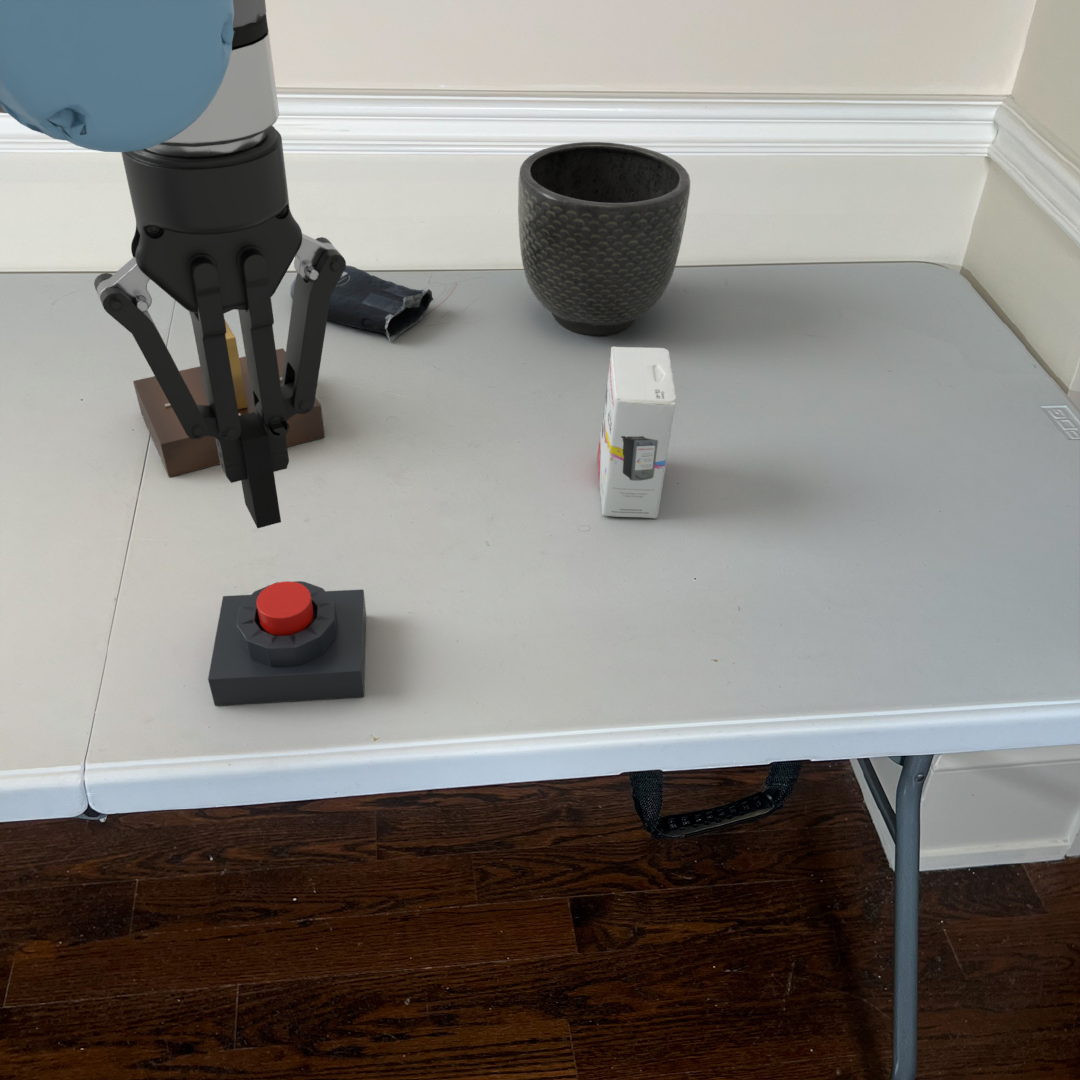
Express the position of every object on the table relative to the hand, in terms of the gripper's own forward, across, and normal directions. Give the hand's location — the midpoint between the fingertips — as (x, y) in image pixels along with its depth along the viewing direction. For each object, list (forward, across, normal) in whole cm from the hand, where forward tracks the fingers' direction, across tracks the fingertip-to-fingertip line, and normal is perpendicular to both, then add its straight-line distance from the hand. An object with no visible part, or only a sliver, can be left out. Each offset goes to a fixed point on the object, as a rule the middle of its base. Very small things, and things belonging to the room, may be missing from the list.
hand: (263, 512), depth 65 cm
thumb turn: (+10, -4, -30) cm, 32 cm away
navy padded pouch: (+13, -22, -46) cm, 53 cm away
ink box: (+13, -32, -6) cm, 36 cm away
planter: (+13, -45, -34) cm, 58 cm away
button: (+9, 0, 0) cm, 9 cm away
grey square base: (+13, 0, 0) cm, 13 cm away
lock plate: (+13, -4, -30) cm, 33 cm away
